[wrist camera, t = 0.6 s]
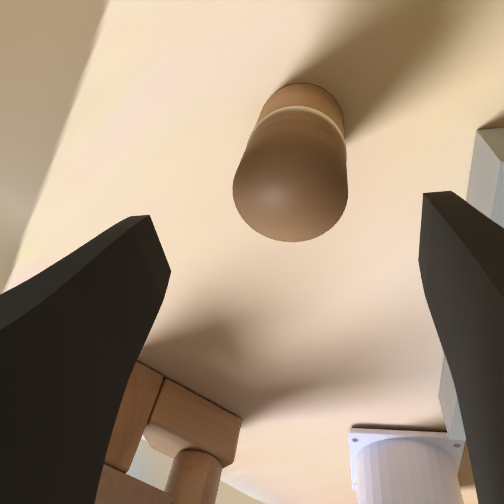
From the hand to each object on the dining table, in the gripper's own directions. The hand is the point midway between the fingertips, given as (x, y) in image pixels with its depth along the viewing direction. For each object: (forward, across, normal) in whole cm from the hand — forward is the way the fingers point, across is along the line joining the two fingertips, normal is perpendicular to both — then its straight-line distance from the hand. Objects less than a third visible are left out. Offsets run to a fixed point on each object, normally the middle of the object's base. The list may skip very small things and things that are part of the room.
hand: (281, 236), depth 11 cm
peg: (+8, 0, 0) cm, 8 cm away
